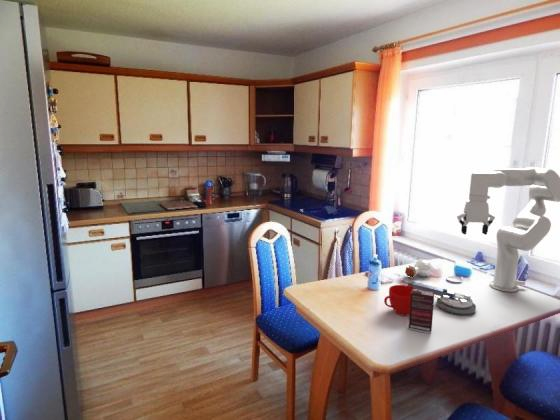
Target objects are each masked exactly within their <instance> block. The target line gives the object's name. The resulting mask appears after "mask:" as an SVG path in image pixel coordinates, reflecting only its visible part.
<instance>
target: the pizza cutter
mask: <svg viewBox="0 0 560 420" xmlns="http://www.w3.org/2000/svg"><path fill="white" fill-rule="evenodd" d="M407 286H411V287H414V288H416V289H418V290H425V291H431V292H434V296H438V297H441V299H440V301H441V303H442V304H444V305H446V306H448V307H451V308H455V309H470V308H471V307H472V303H474V302H473V299H472V298H471V295H470V294H469V293H463V294H461V293H457V292H456V291H454V290H452V289H447V288H441V287H437V286H432V285H429V284H423V283H419V282H417V281H415V280H410V281H408V283H407Z"/></svg>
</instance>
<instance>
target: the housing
mask: <svg viewBox="0 0 560 420" xmlns="http://www.w3.org/2000/svg"><path fill="white" fill-rule="evenodd" d="M434 298H436V307H437V308H438V309H439V310H441V311H442V312H445V313H447V314H449V315H454V316H462V317H463V316H464V317H465V316H466V317H467V316H471V315H474V314H475V313H476V312H477V311H476V310H477V306H476V304H475V303H474V302H473V303H472V307H471V308H470V309H455V308H451V307H448V306H446V305H444V304H442V303H441V301H440V299H441V296H438V295H434Z"/></svg>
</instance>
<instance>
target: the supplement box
mask: <svg viewBox="0 0 560 420" xmlns="http://www.w3.org/2000/svg"><path fill="white" fill-rule="evenodd" d="M434 301H435V294H434V292H431V291H425V290H418V289H412V291H411V300H410V315H408V318H409V319H408V330H410V331H415V332H420V333H426V334H432V329H433V318H434V317H433V316H434V304H435V302H434Z"/></svg>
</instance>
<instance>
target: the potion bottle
mask: <svg viewBox="0 0 560 420" xmlns="http://www.w3.org/2000/svg"><path fill="white" fill-rule="evenodd" d="M432 272H433V265H432V263H431V262H430V261H429V260H427V259H423V258H422V259H418V260H416V262H415V263H414V266H412V265H408V266H406V267H405V271H404V273H405V274H406V276H407V277H408V276H410V277H411V278H412V277H413V276H414V277H413V278H415V277H417V276H420V275H421V276H420V277H425V276H426V277H427V276H430V275H431V274H432Z"/></svg>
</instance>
